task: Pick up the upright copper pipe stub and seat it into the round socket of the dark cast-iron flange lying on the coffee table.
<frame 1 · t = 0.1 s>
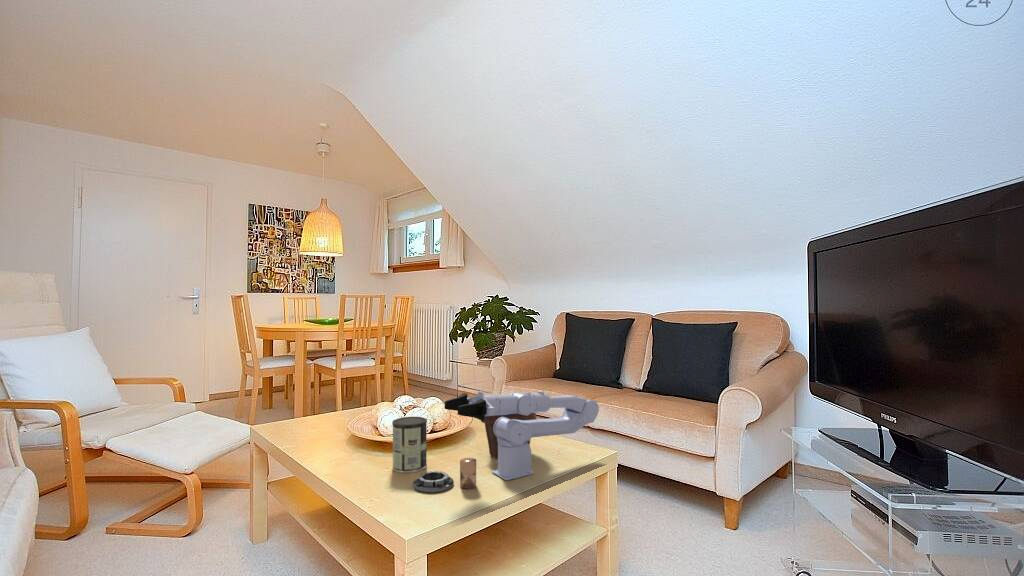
hand: (451, 407, 127), 22 cm above the table, tool horizontal, fingers open, 7 cm apart
flange: (433, 485, 129), on the table
pipe stub: (468, 486, 129), on the table
brown trash bin: (509, 454, 156), on the table
coffee can: (409, 467, 143), on the table
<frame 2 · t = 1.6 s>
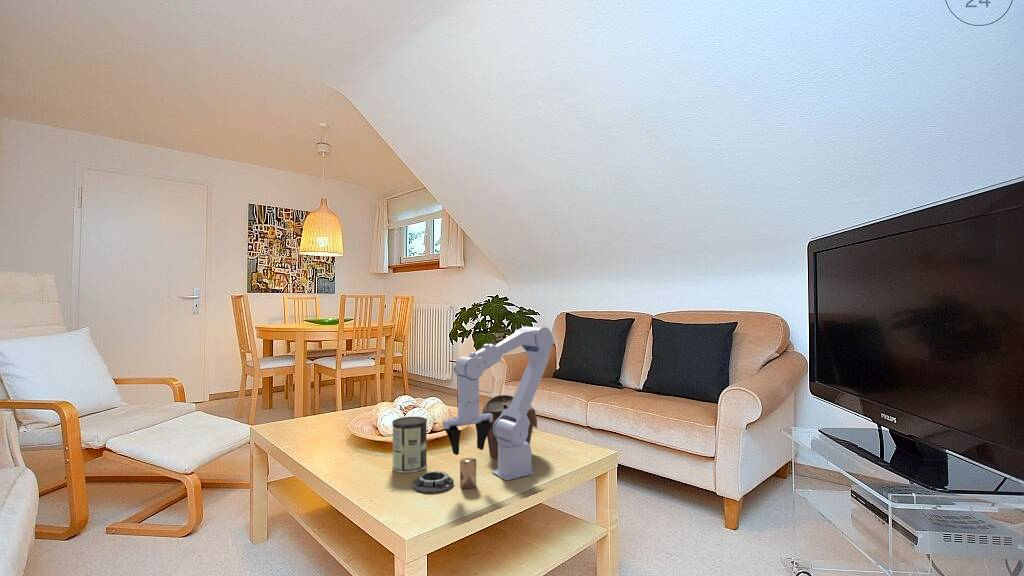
hand: (468, 451, 129), 9 cm above the table, tool pointing down, fingers open, 7 cm apart
nothing on the table moved.
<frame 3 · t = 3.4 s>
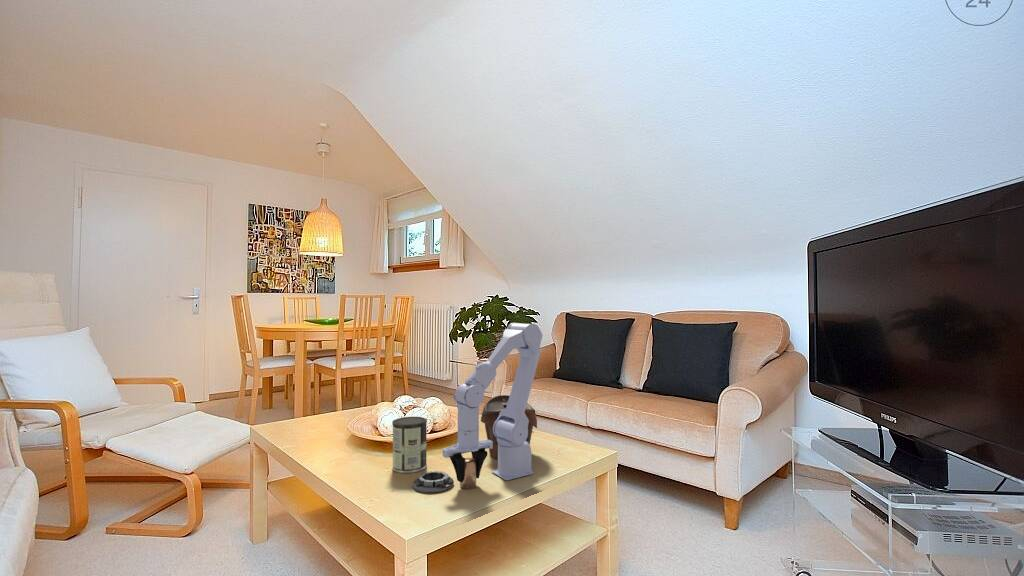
hand: (468, 479, 129), 2 cm above the table, tool pointing down, fingers closed on pipe stub, 4 cm apart
pipe stub: (468, 486, 129), on the table, touching gripper
everything else where it was.
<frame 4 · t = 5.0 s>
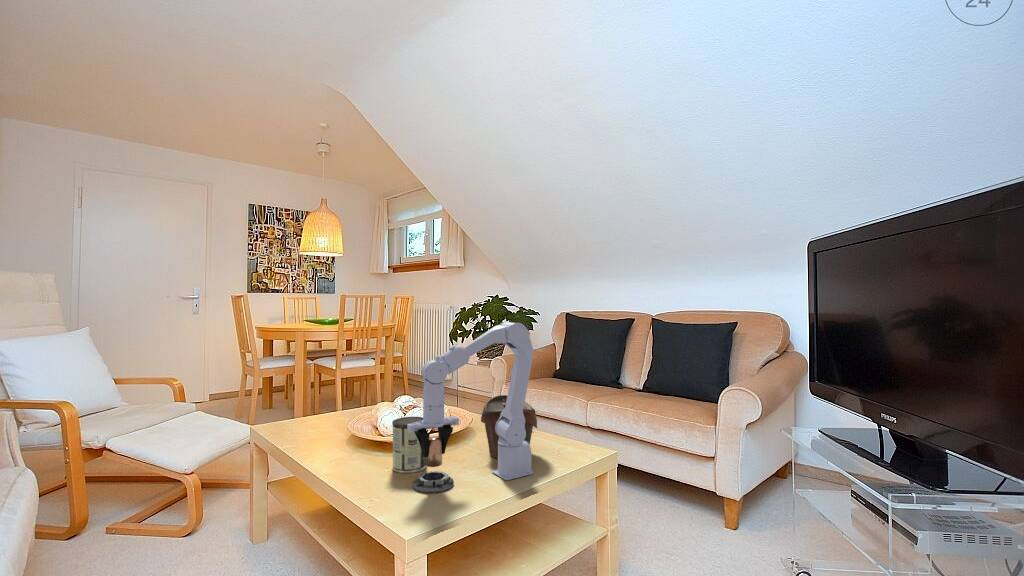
hand: (433, 454, 130), 8 cm above the table, tool pointing down, fingers closed on pipe stub, 4 cm apart
pipe stub: (434, 464, 129), point 6 cm above the table, touching gripper
everything else where it was.
when the fingers open (3 cm above the table, at t = 6.7 s): pipe stub stays where it is, resting on flange.
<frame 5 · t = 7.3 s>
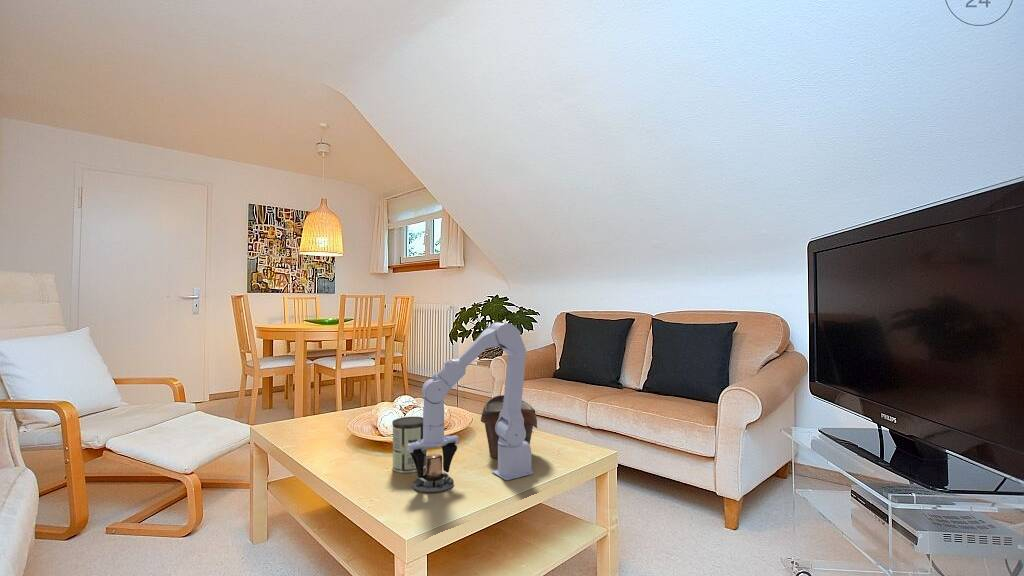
hand: (433, 474, 129), 3 cm above the table, tool pointing down, fingers open, 7 cm apart
pipe stub: (433, 482, 129), point 1 cm above the table, touching flange
everything else where it was.
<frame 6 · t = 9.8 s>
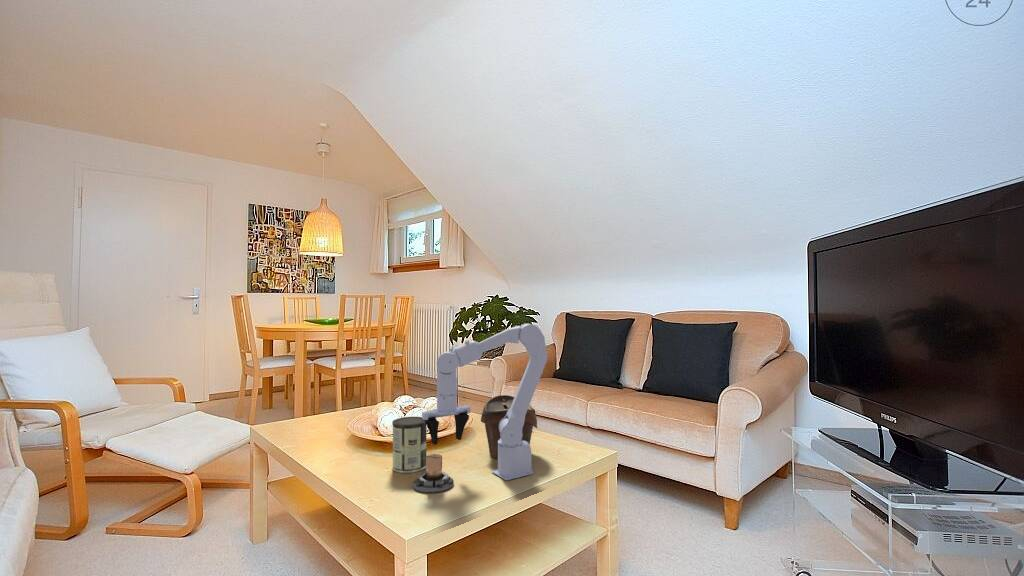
hand: (446, 441, 136), 10 cm above the table, tool pointing down, fingers open, 7 cm apart
nothing on the table moved.
at the end: pipe stub 0.3 cm off-centre on the flange, point 0.8 cm above the flange's base; pipe stub tilted 0°; the gripper is holding nothing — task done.
